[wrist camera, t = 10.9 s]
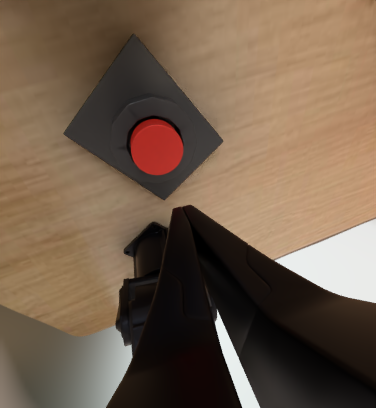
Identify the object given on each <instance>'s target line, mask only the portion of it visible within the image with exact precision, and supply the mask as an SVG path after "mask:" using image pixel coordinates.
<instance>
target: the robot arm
mask: <svg viewBox="0 0 376 408" xmlns="http://www.w3.org/2000/svg"><path fill="white" fill-rule="evenodd" d="M154 225H155V226H154ZM124 254H126V255H129V256H131V257H133V259H134V278H132V279H129V278H127V279H124V283H123V286H122V288H121V289H120V290H119V308H118V313H117V318H116V329H117V330H118V331H120V332H121V334H122V338H123V340H124V345H125V346H128V345H131V344H132V355H133V358H132V361H131V363H130V365H129V367H128V369H127V371H126V374H125V375H124V377H123V379H122V381H121V383H120V384H119V386H118V388H117V389H116V391H115V393H114V395H113V396H112V398H111V400H110V401H109V403H108V405H107V407H106V408H242V406H241V403H240V400H239V398H238V395H237V392H236V389H235V386H234V383H233V381H232V378H231V375H230V372H229V369H228V367H227V364H226V361H225V358H224V356H223V353H222V349H221V346H220V342H219V339H218V335H217V331H216V326H215V321H216V319H217V310H218V312H219V314H220V316H221V319H222V321H223V323H224V326H225V328H226V330H227V333H228V335H229V337H230V339H231V342H232V344H233V346H234V349H235V351H236V353H237V355H238V357H239V360H240V362H241V365H242V367H243V369H244V372H245V374H246V376H247V378H248V381H249V383H250V385H251V387H252V390H253V392H254V394H255V397H256V399H257V401H258V403H259V406H260V408H376V303H372V302H367V301H362V300H357V299H352V298H348V297H344V296H340V295H338V294H335V293H332V292H330V291H328V290H325V289H323V288H321V287H320V286H317V285H316V284H314V283H312V282H310V281H309V280H307V279H305V278H303V277H302V276H300V275H298V274H296V273H294V272H293V271H291V270H289V269H287V268H286V267H284V266H282V265H280V264H278V263H277V262H275V261H274V260H272V259H270V258H269V257H267V256H265V255H264V254H262V253H261V252H259V251H258V250H256V249H255V248H253V247H252V246H250V245H248V244H247V243H246V242H245V241H243V240H242V239H240V238H239V237H237V236H236V235H234V234H233V233H231V232H230V231H229V230H227V229H226V228H224V227H223V226H221V225H220V224H218V223H217V222H215V221H214V220H213V219H211V218H210V217H208V216H207V215H205V214H204V213H202V212H201V211H200V210H198V209H197V208H195V207H194V206H192V205H187V206H183V207H178V208H174V209H173V211H172V215H171V220H170V225H169V228H165V227H163V226H162V225H160V224H158V223H156V222H152V223H150V224H149V225H148V226H147V227H146V228H145V229H144V230H143V231H142V232H141V233H140V234H139V235H138V236H137V237H136V238H135V239H134V240H133V241H132V242H131V243H130V244H129V245H128V246H127V247H126V248H125V249H124Z"/></svg>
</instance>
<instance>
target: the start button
mask: <svg viewBox="0 0 376 408" xmlns="http://www.w3.org/2000/svg"><path fill="white" fill-rule="evenodd" d="M130 145H131V154H132V158H133V161H134V162H135V164H136V165H137V166H138V168H140V169H141V170H142V171H144V172H146V173H148V174H152V175H163V174H166V173H169V172H170V171H172V170H173V169H175V168H176V167H177V165H178V164H179V163H180V161H181V159H182V156H183V143H182V140H181V138H180V136H179V135H178V134H177V132H176V131H175V130H174V128H173V127H172V126H171V125H170V124H168V123H167V122H165V121H163V120H159V119H149V120H146V121H143V122H142V123H140V124H139V125H138V126H137V127H136V128H135V129H134V131H133V133H132V135H131V140H130Z"/></svg>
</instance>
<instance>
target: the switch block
mask: <svg viewBox="0 0 376 408" xmlns="http://www.w3.org/2000/svg"><path fill="white" fill-rule="evenodd" d="M149 119H159V120H163V121H165V122H167V123H168V124H170V125H171V126H172V127H173V128H174V130H175V131H176V132H177V134H178V135H179V136H180V138H181V140H182V143H183V156H182V159H181V161H180V163H179V164H178V165H177V167H176V168H175V169H173V170H172V171H170V172H169V173H166V174H163V175H152V174H148V173H146V172H144V171H142V170H141V169H140V168H138V166H137V165H136V164H135V162H134V161H133V158H132V154H131V145H130V140H131V135H132V133H133V131H134V129H135V128H136V127H137V126H138V125H139V124H140V123H142V122H143V121H146V120H149ZM63 134H64V135H65V136H67V137H68V138H70V139H71V140H73V141H74V142H76V143H77V144H79V145H81V146H82V147H84V148H85V149H87V150H88V151H90V152H91V153H93V154H94V155H96V156H97V157H99V158H100V159H102V160H103V161H105V162H106V163H108V164H110V165H111V166H113V167H114V168H116V169H117V170H119V171H120V172H122V173H123V174H125V175H126V176H128V177H129V178H131V179H132V180H134V181H135V182H137V183H138V184H140V185H142V186H143V187H145V188H146V189H148V190H149V191H151V192H152V193H154V194H155V195H157V196H158V197H160V198H161V199H163V200H165V199H166V198H167V197H168V196H169V195H170V194H171V193H172V192H173V191H174V190H175V189H176V188H177V187H178V186H179V185H180V184H181V183H182V182H183V181H184V180H185V179H186V178H187V177H188V176H189V175H190V174H191V173H192V172H193V171H194V170H195V169H196V168H197V167H198V166H199V165H200V164H201V163H202V162H203V161H204V160H205V159H206V158H207V157H208V156H209V155H210V154H211V153H212V152H213V151H214V150H215V149H216V148H217V147H218V146H219V145H220V144H221V143H222V142H223V140H222V139H221V137H220V136H219V135H218V134H217V132H216V131H215V130H214V129H213V128H212V126H211V125H210V124H209V123H208V122H207V120H206V119H205V118H204V117H203V116H202V114H201V113H200V112H199V111H198V110H197V108H196V107H195V106H194V105H193V104H192V102H191V101H190V100H189V99H188V98H187V96H186V95H185V94H184V93H183V92H182V90H181V89H180V88H179V87H178V86H177V84H176V83H175V82H174V81H173V80H172V78H171V77H170V76H169V75H168V74H167V72H166V71H165V70H164V69H163V67H162V66H161V65H160V64H159V63H158V61H157V60H156V59H155V58H154V57H153V55H152V54H151V53H150V52H149V51H148V49H147V48H146V47H145V46H144V45H143V43H142V42H141V41H140V40H139V39H138V37H137V36H136V35H135V34H132V36H131V37H130V39H129V40H128V42H127V43H126V44H125V46H124V47H123V49H122V50H121V52H120V53H119V54H118V56H117V57H116V59H115V60H114V62H113V63H112V65H111V66H110V67H109V69H108V70H107V72H106V73H105V75H104V76H103V77H102V79H101V80H100V82H99V83H98V85H97V86H96V87H95V89H94V90H93V92H92V93H91V95H90V96H89V97H88V99H87V100H86V102H85V103H84V105H83V106H82V107H81V109H80V110H79V112H78V113H77V115H76V116H75V118H74V119H73V120H72V122H71V123H70V125H69V126H68V128H67V129H66V130H65V132H64V133H63Z"/></svg>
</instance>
